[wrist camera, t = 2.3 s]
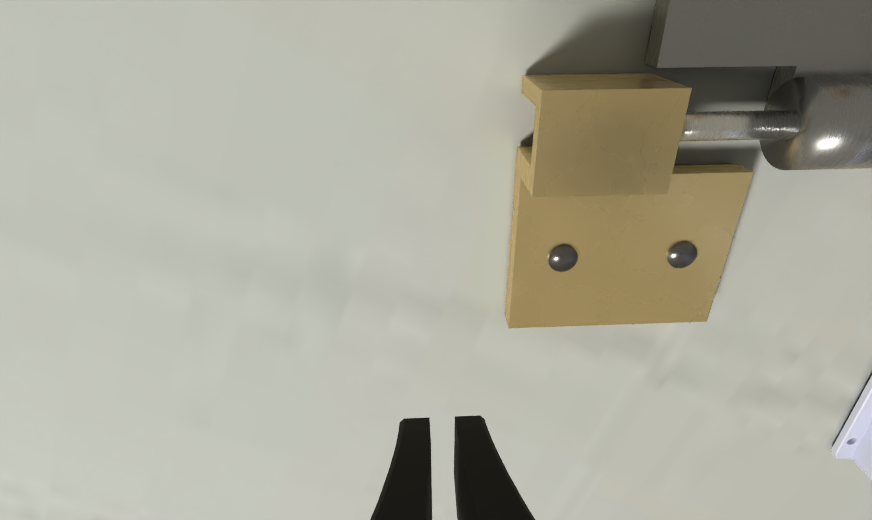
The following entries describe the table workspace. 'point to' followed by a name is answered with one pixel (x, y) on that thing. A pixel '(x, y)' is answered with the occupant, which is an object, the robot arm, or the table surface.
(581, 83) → the tan hinge plate
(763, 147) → the fixed leaf
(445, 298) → the table surface
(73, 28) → the table surface
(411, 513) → the robot arm
